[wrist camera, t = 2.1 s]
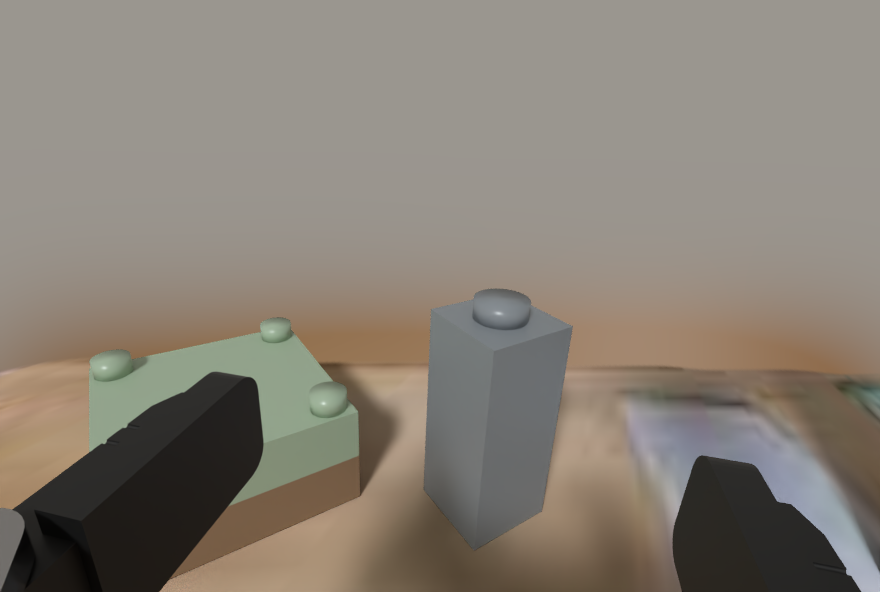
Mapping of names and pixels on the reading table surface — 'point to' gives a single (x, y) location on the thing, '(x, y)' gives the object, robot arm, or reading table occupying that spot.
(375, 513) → the reading table surface
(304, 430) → the tower base
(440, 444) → the tall brick
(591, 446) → the reading table surface
